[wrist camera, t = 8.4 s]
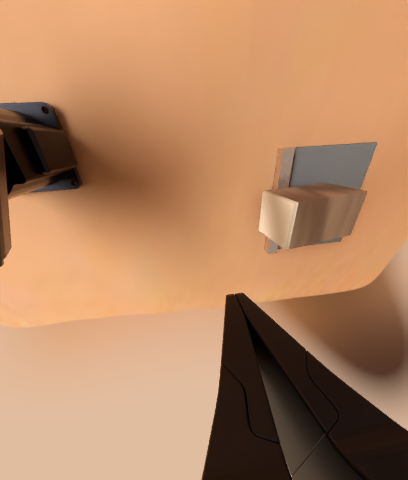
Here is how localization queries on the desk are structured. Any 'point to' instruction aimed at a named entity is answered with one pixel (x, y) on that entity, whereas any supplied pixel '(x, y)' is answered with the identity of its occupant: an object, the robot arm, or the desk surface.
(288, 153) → the stop strip
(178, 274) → the desk surface
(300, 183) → the rubber mat
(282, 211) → the wooden block
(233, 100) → the desk surface
